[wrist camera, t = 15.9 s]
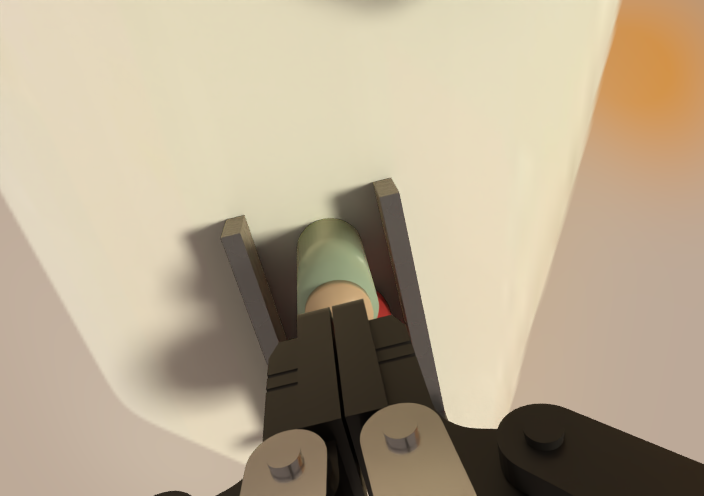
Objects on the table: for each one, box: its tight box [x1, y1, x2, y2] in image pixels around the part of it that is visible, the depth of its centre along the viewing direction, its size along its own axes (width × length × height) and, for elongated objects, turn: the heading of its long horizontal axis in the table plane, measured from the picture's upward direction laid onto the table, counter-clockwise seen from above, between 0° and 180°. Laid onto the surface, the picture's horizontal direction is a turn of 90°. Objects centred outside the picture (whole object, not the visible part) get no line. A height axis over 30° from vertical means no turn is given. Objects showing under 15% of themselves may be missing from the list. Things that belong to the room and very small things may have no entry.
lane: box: [221, 178, 448, 420], centre depth 36 cm, size 18×11×5 cm, turn 13°
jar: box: [297, 218, 379, 320], centre depth 33 cm, size 4×4×9 cm
